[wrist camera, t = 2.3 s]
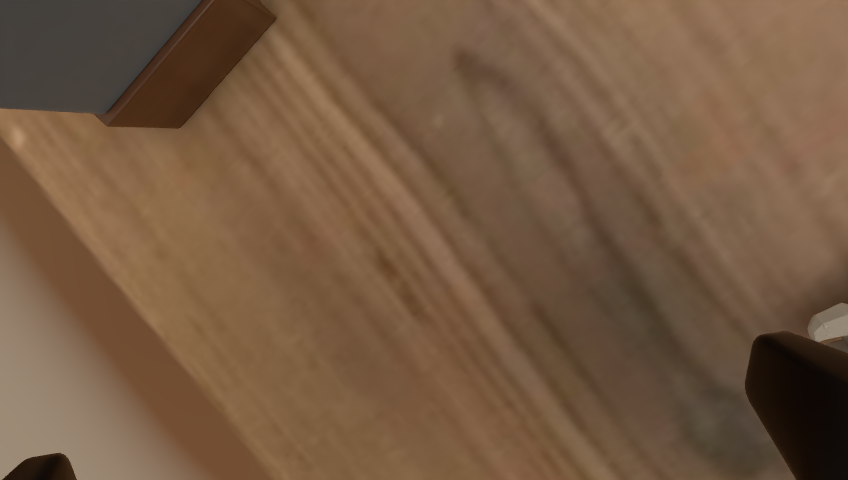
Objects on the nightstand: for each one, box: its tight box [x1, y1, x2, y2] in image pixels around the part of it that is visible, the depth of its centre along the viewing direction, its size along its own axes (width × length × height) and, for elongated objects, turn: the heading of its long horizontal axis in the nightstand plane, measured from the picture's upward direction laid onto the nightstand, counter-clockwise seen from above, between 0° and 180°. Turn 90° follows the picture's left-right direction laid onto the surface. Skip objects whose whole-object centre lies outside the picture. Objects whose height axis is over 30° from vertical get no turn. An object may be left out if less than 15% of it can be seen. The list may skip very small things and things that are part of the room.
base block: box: [95, 0, 275, 128], centre depth 18 cm, size 4×4×4 cm
